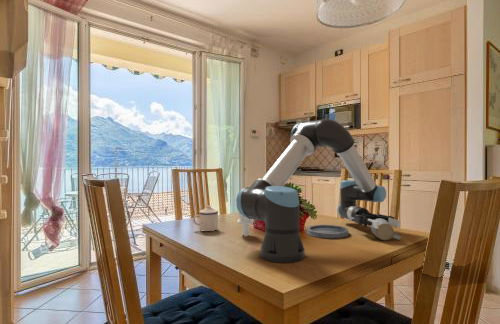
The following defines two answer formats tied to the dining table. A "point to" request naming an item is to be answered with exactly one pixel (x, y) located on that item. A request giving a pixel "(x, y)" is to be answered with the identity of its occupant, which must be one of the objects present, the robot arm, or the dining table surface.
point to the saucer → (327, 231)
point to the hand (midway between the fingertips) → (388, 224)
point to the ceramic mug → (384, 230)
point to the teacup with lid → (208, 219)
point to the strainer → (244, 224)
